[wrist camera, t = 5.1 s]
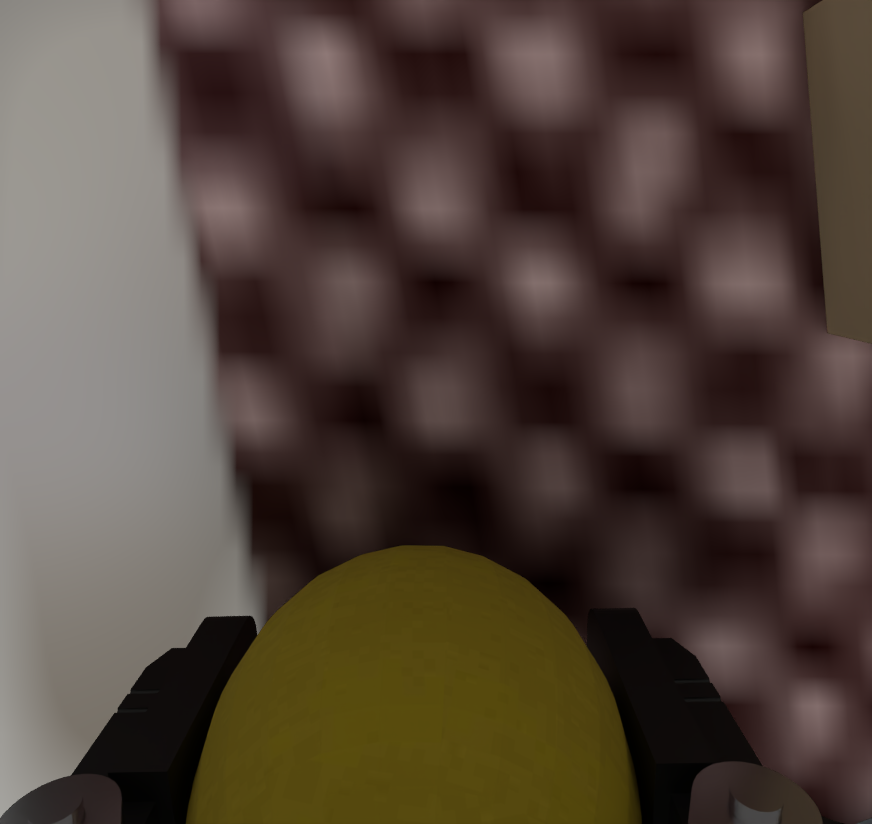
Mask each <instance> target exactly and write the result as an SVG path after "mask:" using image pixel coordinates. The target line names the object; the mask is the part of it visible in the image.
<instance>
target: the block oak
mask: <svg viewBox="0 0 872 824" xmlns="http://www.w3.org/2000/svg"><path fill="white" fill-rule="evenodd" d="M803 22H804V35H805V48H806V61H807V74H808V87H809V100H810V113H811V126H812V139H813V152H814V165H815V178H816V191H817V204H818V217H819V230H820V243H821V256H822V269H823V282H824V295H825V308H826V321H827V333H829V334H833V335H837V336H841V337H846V338H850V339H854V340H858V341H862V342H867V343H871V344H872V0H822V1H821V2H819V3H818V4H816V5H814V6H813V7H811V8H810V9H808V10H807V11H805V12H804V13H803Z"/></svg>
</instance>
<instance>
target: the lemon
mask: <svg viewBox="0 0 872 824" xmlns="http://www.w3.org/2000/svg"><path fill="white" fill-rule="evenodd" d="M186 824H642V816H641V806H640V797H639V788H638V783H637V778H636V773H635V768H634V763H633V760H632V756H631V753H630V749H629V746H628V742H627V739H626V736H625V732H624V729H623V725H622V722H621V718H620V715H619V711H618V708H617V705H616V701H615V698H614V696H613V693H612V691H611V688H610V686H609V684H608V681H607V679H606V678H605V676H604V674H603V672H602V670H601V669H600V667H599V665H598V664H597V662H596V660H595V659H594V657H593V656H592V654H591V652H590V651H589V649H588V648H587V646H586V644H585V643H584V641H583V640H582V638H581V637H580V635H579V633H578V632H577V630H576V629H575V627H574V626H573V624H572V623H571V622H570V620H569V619H568V618H567V616H566V615H565V614H564V613H563V612H562V611H561V610H560V609H559V608H557V607H556V606H555V605H554V604H553V603H552V602H551V601H550V600H549V599H548V598H546V597H545V596H544V595H543V594H542V593H541V592H540V591H539V590H538V589H537V588H535V587H534V586H533V585H532V584H531V583H530V582H529V581H528V580H527V579H525V578H523V577H522V576H520V575H518V574H516V573H514V572H512V571H510V570H508V569H506V568H505V567H503V566H501V565H499V564H497V563H495V562H493V561H491V560H489V559H487V558H486V557H484V556H481V555H477V554H473V553H469V552H465V551H461V550H458V549H454V548H450V547H446V546H419V545H402V546H397V547H393V548H388V549H384V550H379V551H375V552H370V553H366V554H362V555H360V556H357V557H355V558H353V559H351V560H349V561H347V562H345V563H343V564H341V565H339V566H337V567H335V568H333V569H331V570H329V571H327V572H324V573H322V574H320V575H318V576H317V577H316V578H315V579H313V580H312V581H311V582H310V583H308V584H307V585H306V586H305V587H304V588H303V589H301V590H300V591H299V592H298V593H297V594H296V595H295V596H293V597H292V598H291V599H290V600H289V601H288V602H287V603H285V604H284V605H283V606H282V607H281V608H280V609H279V610H277V611H276V612H275V613H274V615H273V616H272V617H271V618H270V619H269V620H268V621H267V622H266V624H265V625H264V627H263V628H262V629H261V631H260V632H259V634H258V635H257V637H256V638H255V640H254V641H253V643H252V644H251V646H250V647H249V649H248V650H247V652H246V653H245V655H244V657H243V658H242V660H241V661H240V663H239V664H238V666H237V667H236V669H235V670H234V672H233V673H232V675H231V677H230V679H229V680H228V682H227V684H226V686H225V688H224V690H223V692H222V694H221V696H220V699H219V701H218V704H217V706H216V709H215V711H214V714H213V718H212V721H211V724H210V728H209V731H208V734H207V737H206V741H205V744H204V747H203V751H202V754H201V757H200V760H199V764H198V767H197V771H196V774H195V777H194V781H193V786H192V790H191V795H190V800H189V804H188V811H187V818H186Z"/></svg>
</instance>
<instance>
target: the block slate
mask: <svg viewBox="0 0 872 824" xmlns="http://www.w3.org/2000/svg"><path fill="white" fill-rule="evenodd" d="M857 824H872V818H870V819H867V820H865V821H862V822H859V823H857Z"/></svg>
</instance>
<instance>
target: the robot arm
mask: <svg viewBox="0 0 872 824" xmlns="http://www.w3.org/2000/svg"><path fill="white" fill-rule="evenodd" d="M256 637H257V630H256V624H255V621H254V619H253V617H252V616H226V617H225V616H224V617H206V618H205V619H204V621H203V622H202V623H201V625H200V626H199V628H198V630H197V631H196V633H195V634H194V636H193V637H192V639H191V641H190V642H189V644H188V645H187V647H186V648H171V649H170V650H169V651H167V652H166V653H165V654H164V655H162V656H161V657H159V658H158V659H157V660H155V661H154V662H153V663H151V664H150V665H149V666H147V667H146V668H145V670H144V671H143V673H142V674H141V676H140V677H139V678H138V680H137V681H136V683H135V684H134V686H133V687H132V688H131V693H130V694H127V696H126V697H125V699H124V700H123V701H122V703H121V704H120V706H119V707H118V712H117V713H114V714H113V716H112V717H111V719H110V720H109V722H108V723H107V725H106V726H105V727H104V729H103V730H102V732H101V733H100V735H99V736H98V737H97V739H96V740H95V742H94V743H93V745H92V746H91V747H90V749H89V750H88V752H87V753H86V755H85V756H84V758H83V759H82V761H81V762H80V763H79V765H78V766H77V768H76V769H75V771H74V772H73V773H72V775H71V776H67V777H63V778H60V779H57V780H54V781H51V782H49V783H47V784H44V785H42V786H40V787H38V788H37V789H35V790H33V791H31V792H30V793H28V794H26V795H25V796H23V797H22V798H21V799H19V800H18V801H17V802H16V803H14V804H13V805H12V806H11V807H10V808H9V809H8V810H7V811H6V812H5V813H4V814H3V815H2V817H1V818H0V824H186V818H187V811H188V804H189V800H190V795H191V790H192V786H193V781H194V777H195V774H196V771H197V767H198V764H199V760H200V757H201V754H202V751H203V747H204V744H205V741H206V737H207V734H208V731H209V728H210V724H211V721H212V718H213V714H214V711H215V709H216V706H217V704H218V701H219V699H220V696H221V694H222V692H223V690H224V688H225V686H226V684H227V682H228V680H229V679H230V677H231V675H232V673H233V672H234V670H235V669H236V667H237V666H238V664H239V663H240V661H241V660H242V658H243V657H244V655H245V653H246V652H247V650H248V649H249V647H250V646H251V644H252V643H253V641H254V640H255V638H256ZM587 648H588V649H589V651H590V652H591V654H592V656H593V657H594V659H595V660H596V662H597V664H598V665H599V667H600V669H601V670H602V672H603V674H604V676H605V678H606V679H607V681H608V684H609V686H610V688H611V691H612V693H613V696H614V698H615V701H616V705H617V708H618V711H619V715H620V718H621V722H622V725H623V729H624V732H625V736H626V739H627V742H628V746H629V749H630V753H631V756H632V760H633V763H634V768H635V773H636V778H637V783H638V788H639V797H640V806H641V816H642V824H843V823H839V822H836V821H833V820H831V819H828V818H825V817H823V816H821V814H820V812H819V810H818V807H817V806H816V804H815V803H814V801H813V800H812V799H811V797H810V796H809V795H808V794H807V793H806V792H805V791H804V790H803V789H802V788H800V787H799V786H798V785H797V784H796V783H794V782H793V781H791V780H790V779H788V778H787V777H785V776H783V775H781V774H779V773H778V772H776V771H773V770H771V769H768V768H766V767H763V766H762V764H761V763H760V761H759V759H758V758H757V756H756V755H755V753H754V751H753V750H752V748H751V746H750V745H749V743H748V741H747V740H746V738H745V736H744V735H743V733H742V732H741V730H740V728H739V727H738V725H737V723H736V722H735V720H734V718H733V717H732V715H731V713H730V712H729V710H728V709H727V707H726V705H725V704H724V702H721V699H720V695H719V694H718V692H717V691H716V689H715V687H714V686H713V684H712V683H710V682H709V677H708V676H707V674H706V672H705V671H704V669H703V668H702V666H701V664H700V663H699V661H698V659H697V658H696V656H694V655H693V654H692V653H690V652H689V651H688V650H687V649H685V648H684V647H683V646H681V645H680V644H679V643H677V642H676V641H675V640H673V639H672V638H652V637H651V635H650V633H649V631H648V629H647V628H646V626H645V624H644V622H643V620H642V618H641V616H640V614H639V612H638V611H637V609H636V608H608V609H590V611H589V614H588V623H587Z"/></svg>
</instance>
